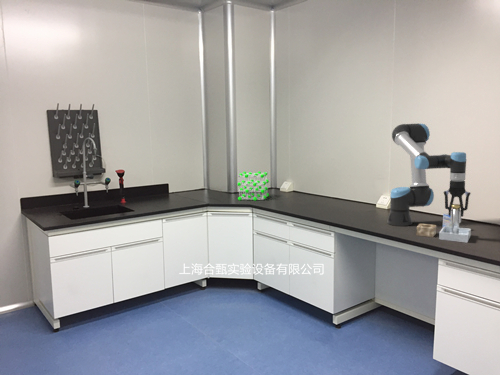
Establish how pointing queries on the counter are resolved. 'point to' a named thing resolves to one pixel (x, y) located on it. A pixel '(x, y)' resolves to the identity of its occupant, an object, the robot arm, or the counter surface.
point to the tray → (461, 237)
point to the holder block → (426, 230)
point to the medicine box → (447, 220)
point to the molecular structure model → (254, 183)
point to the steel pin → (455, 218)
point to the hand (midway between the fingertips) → (455, 221)
